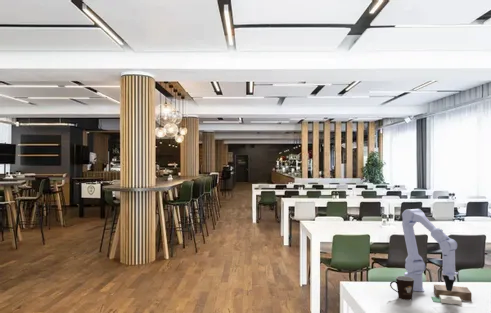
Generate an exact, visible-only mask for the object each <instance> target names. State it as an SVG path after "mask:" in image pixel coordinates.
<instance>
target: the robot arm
mask: <svg viewBox="0 0 491 313" xmlns="http://www.w3.org/2000/svg"><path fill="white" fill-rule="evenodd" d="M401 218H402V222H401V226H402V231H403V236H404V240H405V247H406V251H407V256H406V258H405V264H404V267H405V270H406V272H403V273H404V275H403V276H406V277H411V278H413V279H414V285H413V292H422V293H424V292H425V290H424V287H423V284H424V283H423V282H424V281H423V279H424V278H423V273H424V271H426V263H425V261H424V260H423V257H422V256H421V255H420V254H419V250H418V249H419V248H418V245H417V239H416V235H415V230H414V225H415V224H416V223H420V224H421V225H423V227H424V228H426V229H427V230H428V232H430V236H431V237H432V239H434V240H435V241H436V242H437V244H438V245H439V248H440V250H441V254H442V271H441V272H442V278H443V280H444V283H445V284H444V285H446V289H447V291H452V288H453V286H454V284H455V281H456V280H457V279H456V275H459V272H458V271H457V272H456V250H457V249H458V242H457V241H456V240H455V239H453V238H450V237H449V235H447V234H446V233H445V232H444V229H442V228H440V227H439V228H438V227H436V226H434V224H433V223H432V222H431V221H430V220H429V219H428V217H427V216H426V214H425V212H424V211H423V210H421V209H420V208H412V209H411V208H410V209H409V208H407V209H405V210H404V211H403V212H402V213H401Z"/></svg>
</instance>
